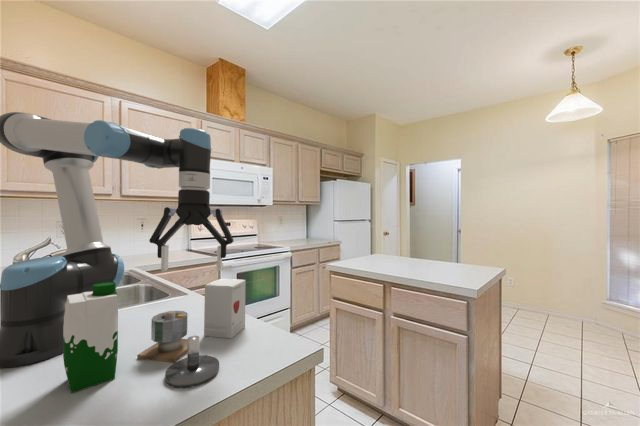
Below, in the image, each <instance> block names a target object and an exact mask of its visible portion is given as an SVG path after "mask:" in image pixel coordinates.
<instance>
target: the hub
mask: <svg viewBox="0 0 640 426" xmlns="http://www.w3.org/2000/svg"><path fill="white" fill-rule="evenodd" d="M187 339H188V340H187V353H186V355H187V357H185V358H181V359H179V360H177V361H176V362H175V363H171V365H169V366H168V367H167V368H166V370H165V373H164V381H165V384H166V385H168V386H169V387H171V388H175V389H188V388H194V387H198V386H200V385H203V384H206V383H207V382H209V381H211V380H212V379H214V378H215V377H216V376H217V375H218V374H219V372H220V361H219V360H218V358H217V357H214V356H212V355H205V354H203V355H201V354H200V336H199V335H191V336H189V337H188V338H187Z"/></svg>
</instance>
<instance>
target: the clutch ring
mask: <svg viewBox="0 0 640 426" xmlns="http://www.w3.org/2000/svg"><path fill="white" fill-rule="evenodd" d="M174 311H175V318H172V319H165V312H166V311H164V312H161V313H158V314H155V315H154V316H152V318H151V327H150V328H151V329H150V330H151V333H150V334H151V338H150V339H151V341H153V342H154V343H157V342H159V343H165V342H172V341H175V340H179V339H184V338H185V337H186V336H187V334H188V314H189V313H188V312H186V311H184V310H174Z"/></svg>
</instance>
